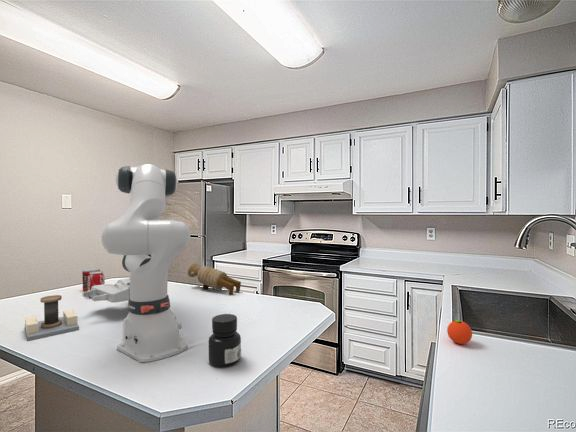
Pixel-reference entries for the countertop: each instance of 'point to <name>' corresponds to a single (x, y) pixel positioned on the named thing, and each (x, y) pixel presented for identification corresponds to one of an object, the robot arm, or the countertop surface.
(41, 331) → the terminal board
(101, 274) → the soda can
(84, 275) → the red printed box
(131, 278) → the robot arm
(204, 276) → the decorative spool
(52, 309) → the bobbin
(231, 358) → the ink bottle
